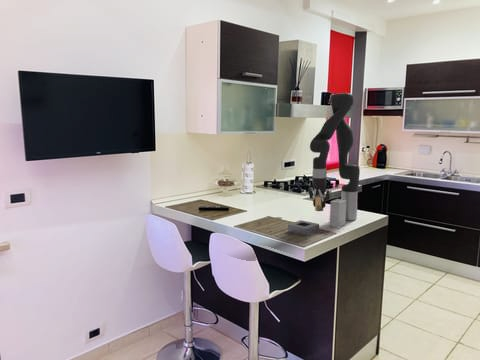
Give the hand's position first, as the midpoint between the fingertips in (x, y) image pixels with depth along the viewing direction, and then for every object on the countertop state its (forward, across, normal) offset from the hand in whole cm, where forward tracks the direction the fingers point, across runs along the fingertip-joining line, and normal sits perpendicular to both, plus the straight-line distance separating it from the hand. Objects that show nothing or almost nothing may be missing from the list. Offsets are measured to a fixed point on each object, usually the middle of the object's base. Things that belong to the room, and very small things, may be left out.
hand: (319, 206), depth 211 cm
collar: (+12, +3, +11) cm, 16 cm away
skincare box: (+13, -5, -11) cm, 18 cm away
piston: (+2, 0, 0) cm, 2 cm away
